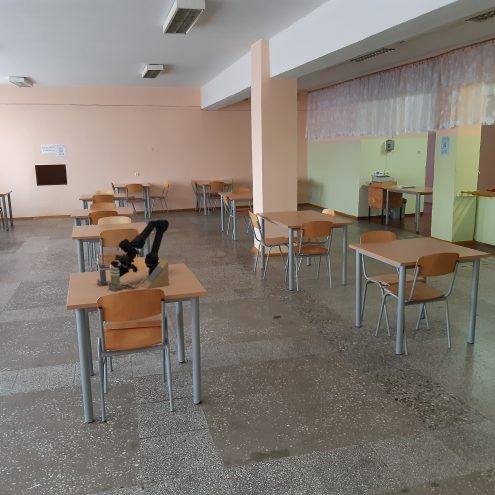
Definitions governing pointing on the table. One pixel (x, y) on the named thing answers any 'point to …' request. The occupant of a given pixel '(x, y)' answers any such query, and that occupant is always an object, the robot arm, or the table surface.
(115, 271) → the green striped block
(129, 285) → the table surface
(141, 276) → the table surface
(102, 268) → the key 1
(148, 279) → the sandwich container
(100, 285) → the key rack
